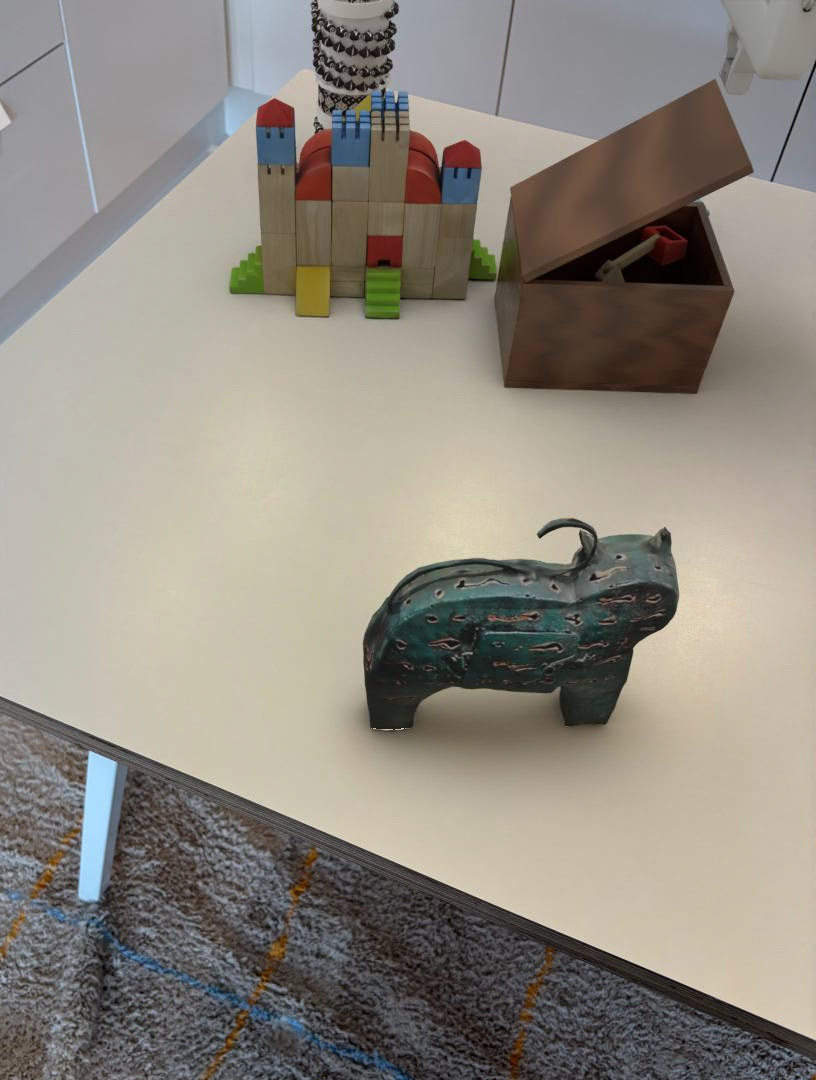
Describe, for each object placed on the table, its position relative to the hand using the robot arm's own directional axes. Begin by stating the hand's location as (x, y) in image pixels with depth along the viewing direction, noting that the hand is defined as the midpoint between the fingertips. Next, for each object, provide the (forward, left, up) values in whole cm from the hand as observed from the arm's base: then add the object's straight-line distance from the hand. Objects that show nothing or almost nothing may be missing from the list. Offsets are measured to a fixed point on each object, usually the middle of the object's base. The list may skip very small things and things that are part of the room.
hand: (732, 86), depth 84 cm
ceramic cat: (+19, +45, -25) cm, 55 cm away
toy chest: (+6, 0, -25) cm, 26 cm away
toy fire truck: (+5, 0, -25) cm, 25 cm away
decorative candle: (+31, -30, -25) cm, 50 cm away
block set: (+29, -10, -25) cm, 40 cm away
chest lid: (+7, 0, -9) cm, 11 cm away
